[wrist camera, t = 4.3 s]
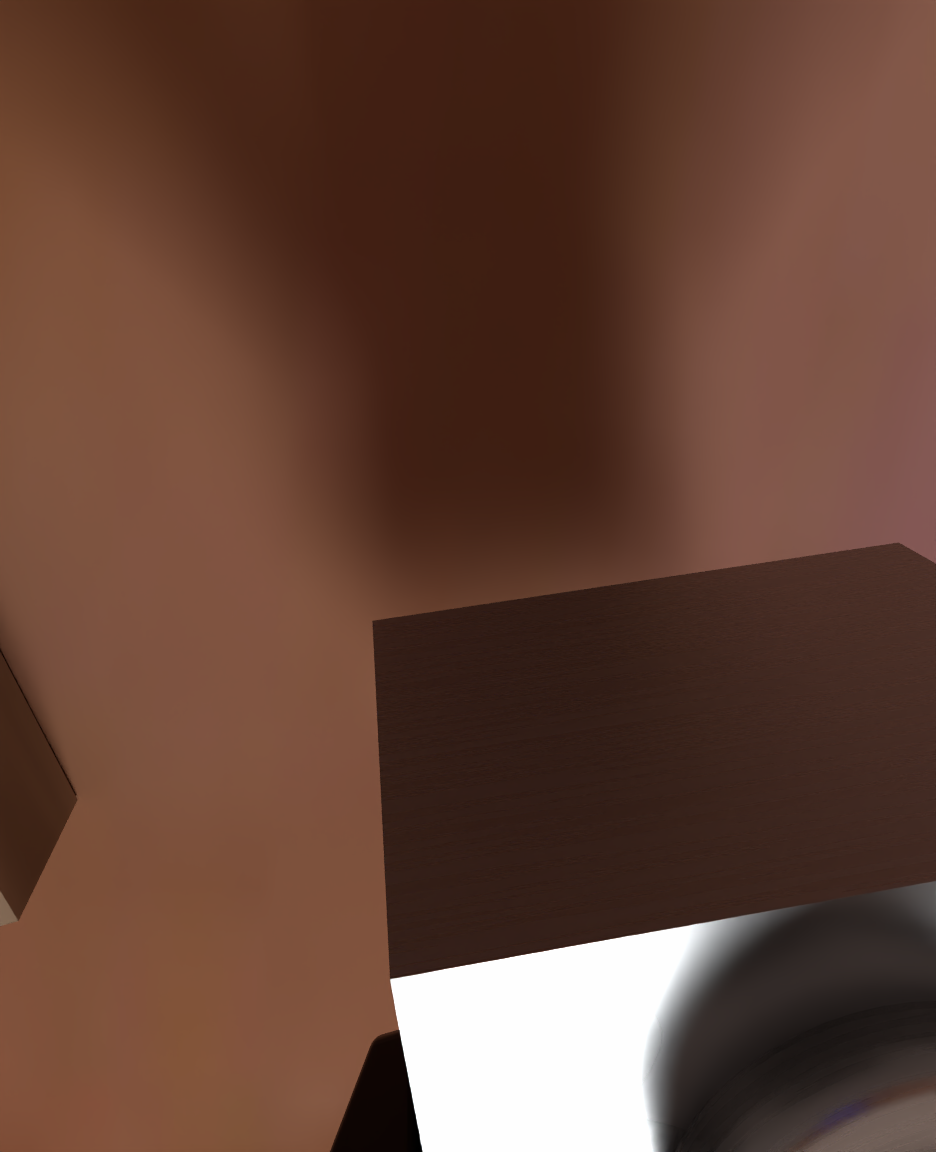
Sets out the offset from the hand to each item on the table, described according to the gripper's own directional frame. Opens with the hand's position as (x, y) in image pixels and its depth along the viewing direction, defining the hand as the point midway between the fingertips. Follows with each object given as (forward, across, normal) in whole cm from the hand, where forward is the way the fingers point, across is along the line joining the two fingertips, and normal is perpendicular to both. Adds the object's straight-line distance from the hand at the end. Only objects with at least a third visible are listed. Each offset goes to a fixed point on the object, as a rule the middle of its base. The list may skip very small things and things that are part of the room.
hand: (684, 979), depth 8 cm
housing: (+1, 0, 0) cm, 1 cm away
